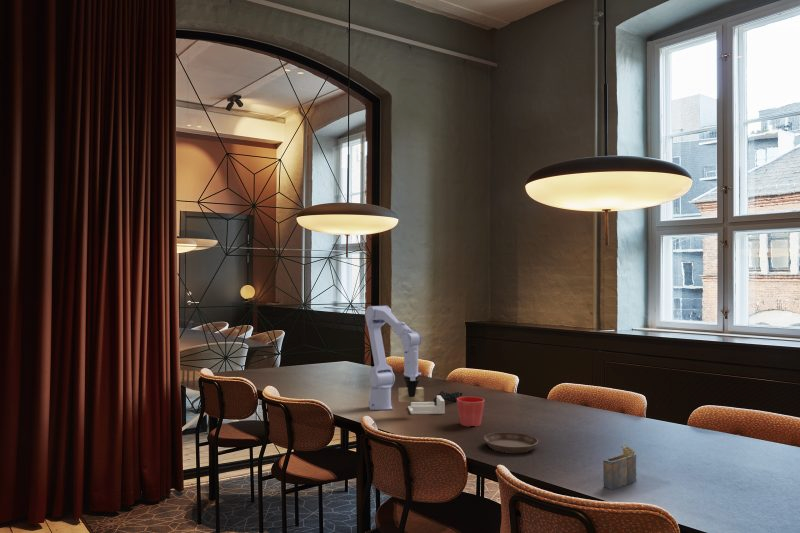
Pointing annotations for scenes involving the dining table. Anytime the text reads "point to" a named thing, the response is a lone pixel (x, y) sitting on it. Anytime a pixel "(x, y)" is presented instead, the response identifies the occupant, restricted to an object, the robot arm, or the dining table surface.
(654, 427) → the dining table surface
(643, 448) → the dining table surface
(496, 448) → the plant saucer
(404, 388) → the tan block
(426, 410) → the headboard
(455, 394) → the decorative element
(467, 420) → the flower pot
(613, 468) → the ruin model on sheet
